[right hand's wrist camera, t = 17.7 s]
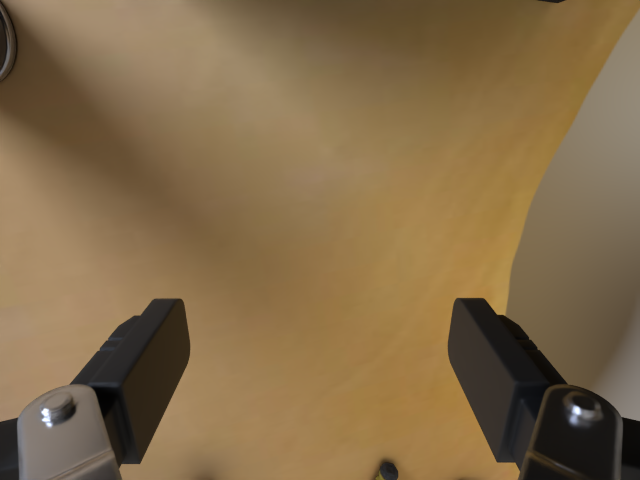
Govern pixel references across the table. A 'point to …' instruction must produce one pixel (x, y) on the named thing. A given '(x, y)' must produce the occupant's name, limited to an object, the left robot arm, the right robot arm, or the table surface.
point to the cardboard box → (555, 0)
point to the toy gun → (387, 472)
